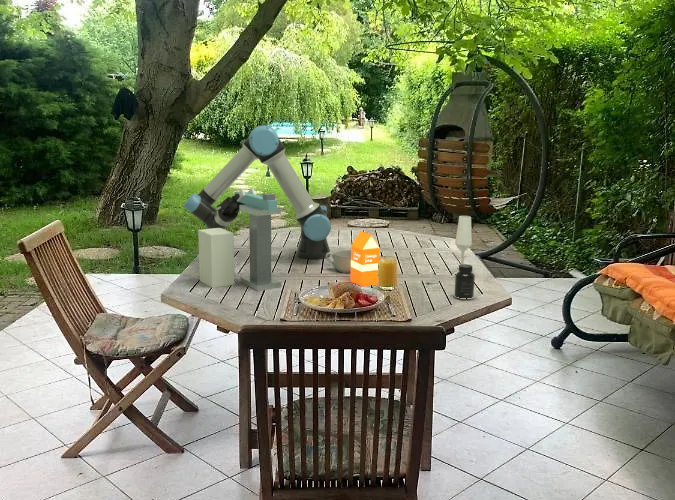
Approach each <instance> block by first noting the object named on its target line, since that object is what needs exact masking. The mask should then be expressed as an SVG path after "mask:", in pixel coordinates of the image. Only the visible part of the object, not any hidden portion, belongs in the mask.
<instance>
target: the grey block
mask: <svg viewBox="0 0 675 500" xmlns="http://www.w3.org/2000/svg"><path fill="white" fill-rule="evenodd" d="M197 233H198V235H197V236H198V265H199V267H198V268H199V269H198V270H199V271H198V272H199V281H200V282H201V283H204V284H205V285H207V286H208V287H210V288H212V289H213V288H221V287H227V286H234V285H235V249H234V248H235V243H234V241H235V240H234V239H235V238H234V236H235V235H234V232H232V231H230V230H227V229H226V228H225V229H222V228H212V229H207V228H205V229H198V230H197Z"/></svg>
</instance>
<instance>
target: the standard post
mask: <svg viewBox="0 0 675 500" xmlns="http://www.w3.org/2000/svg"><path fill="white" fill-rule="evenodd" d="M239 209H240V211H241V212H244V213H247V214H248V218H249V219H248V221H249V222H248V224H249V225H248V227H249V228H248V229H249V233H248V235H249V236H248V237H249V275H246V276H245V275H244V276H241V277H240V283H242V284H244V286H247V287H249V288H251V289H252V290H255V291H257V292H259V291H266V290H273V289H278V288H282V281H280V280H278V279H276V278H273V277H272V216H273V215H282V208H280V207H278V206H277V210H274V211H267V210H264V209H261V208H257V207H254V206H251V205H239ZM240 211H239V212H240Z"/></svg>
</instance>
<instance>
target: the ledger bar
mask: <svg viewBox="0 0 675 500" xmlns="http://www.w3.org/2000/svg"><path fill="white" fill-rule="evenodd" d="M239 191H240V190H239ZM239 191H234V192H233V193H234V195H235V194H237V193H238V192H239ZM244 192H245V196H244V197H243V198H242V199H241V200H240V201H239V202H241V203H244V204H247V205H251V206H254V207H257V208H261V209H264V210H267V211H274V210H277V207H278V200H276V193H263V194H262V195H258V194H256V193H255V194H251V193H247V192H248V191H247V192H246V191H244ZM234 195H233V196H234ZM236 201H237V200H236Z"/></svg>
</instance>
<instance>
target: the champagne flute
mask: <svg viewBox="0 0 675 500" xmlns="http://www.w3.org/2000/svg"><path fill="white" fill-rule="evenodd" d="M457 222H458V223H457V230H456V236H455V242H454V244H455V246H456V247H457V249H458V250H459V251H460V252H461V253H460V265H461V264H465V252H466V251H467V250H468V249H470V248H471V246H472V245H473V238H472V237H473V235H472V217H471V216H469V215H459V216H458V221H457ZM457 272H459V269H458V270H457V271H455V272H454V273H457Z"/></svg>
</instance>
